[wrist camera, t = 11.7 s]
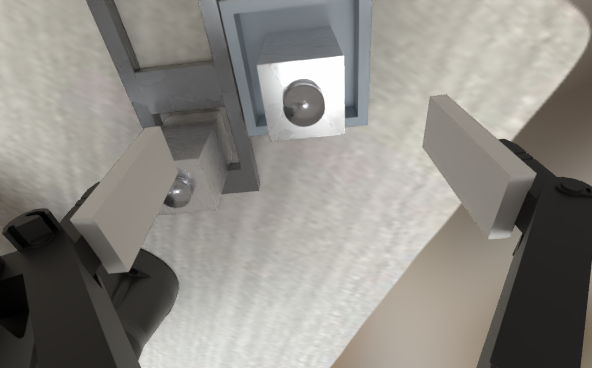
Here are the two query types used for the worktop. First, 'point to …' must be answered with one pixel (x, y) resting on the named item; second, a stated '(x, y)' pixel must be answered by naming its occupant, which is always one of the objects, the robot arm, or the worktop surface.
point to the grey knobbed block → (196, 161)
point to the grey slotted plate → (183, 84)
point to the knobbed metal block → (302, 84)
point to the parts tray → (289, 17)
